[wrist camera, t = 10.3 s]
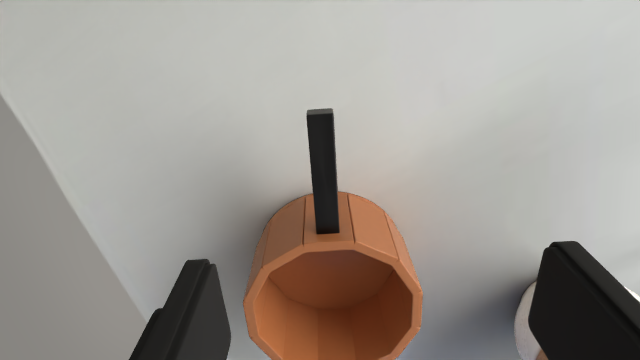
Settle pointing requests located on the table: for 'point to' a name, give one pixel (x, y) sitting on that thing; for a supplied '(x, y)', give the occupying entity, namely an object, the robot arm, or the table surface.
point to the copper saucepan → (331, 272)
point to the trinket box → (524, 338)
